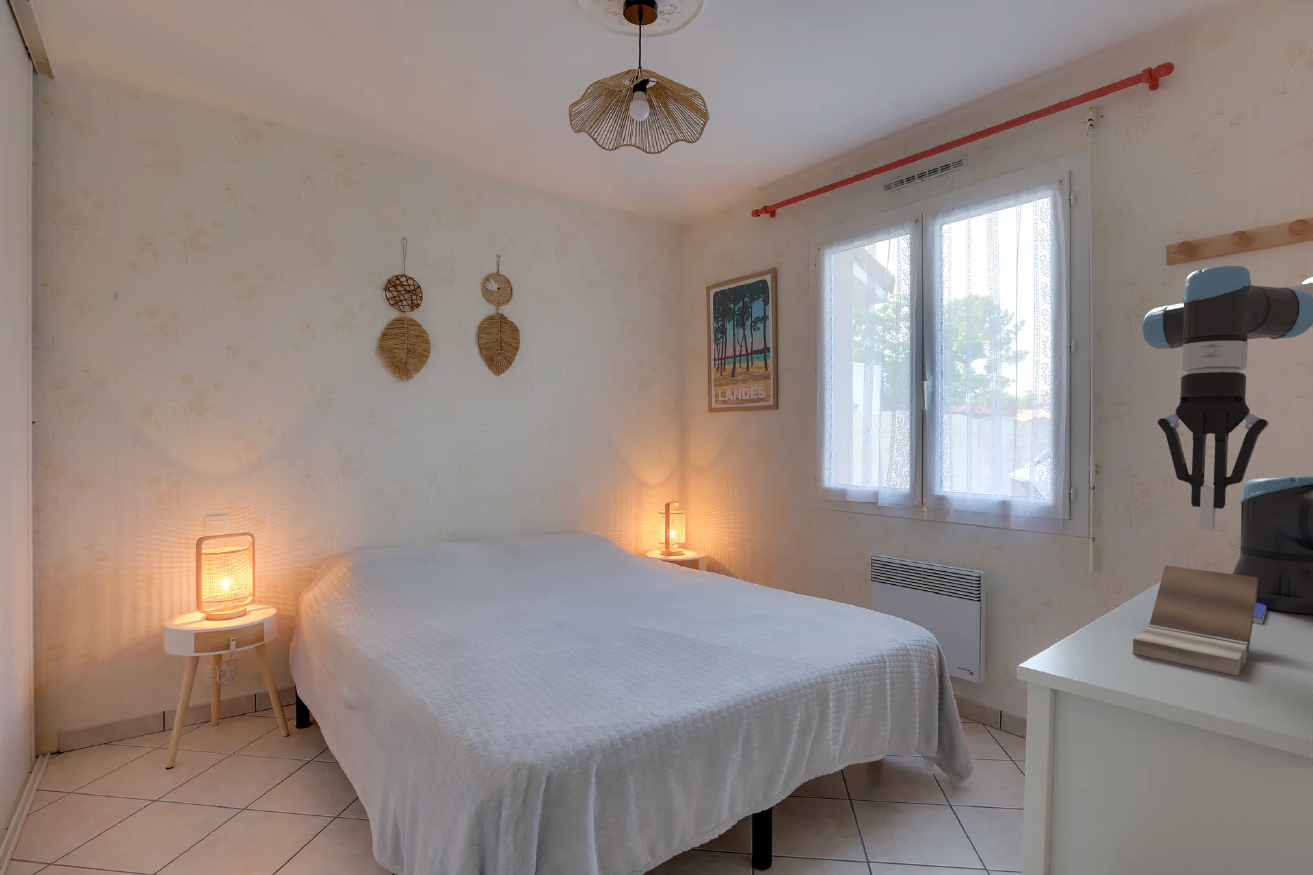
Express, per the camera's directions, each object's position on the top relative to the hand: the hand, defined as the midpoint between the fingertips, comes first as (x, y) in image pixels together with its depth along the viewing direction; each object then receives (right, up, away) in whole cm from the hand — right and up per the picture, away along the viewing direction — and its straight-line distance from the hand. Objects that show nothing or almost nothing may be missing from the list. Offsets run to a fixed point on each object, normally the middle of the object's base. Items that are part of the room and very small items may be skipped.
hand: (1207, 529), depth 100 cm
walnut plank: (-1, -12, -1) cm, 12 cm away
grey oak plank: (-10, -16, -9) cm, 21 cm away
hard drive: (+17, -17, +15) cm, 28 cm away
